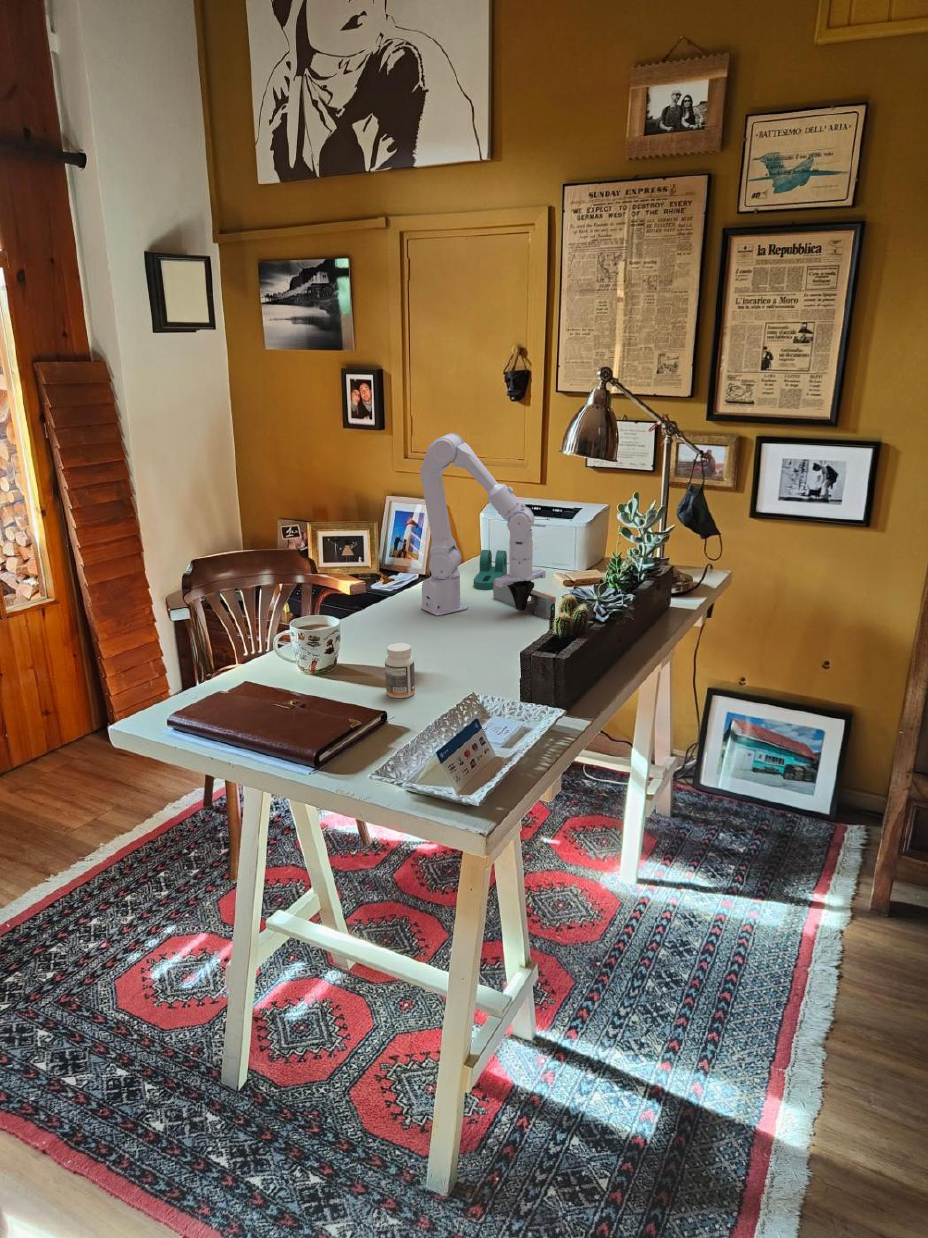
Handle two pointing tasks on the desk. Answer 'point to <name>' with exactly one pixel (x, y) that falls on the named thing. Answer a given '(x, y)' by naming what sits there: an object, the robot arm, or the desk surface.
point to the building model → (541, 600)
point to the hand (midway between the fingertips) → (520, 609)
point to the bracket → (490, 569)
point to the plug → (533, 604)
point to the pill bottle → (399, 671)
